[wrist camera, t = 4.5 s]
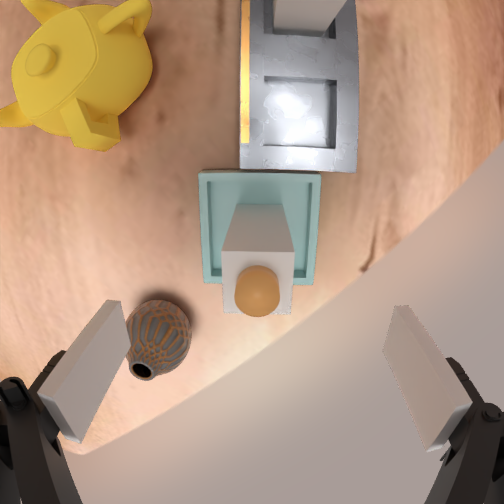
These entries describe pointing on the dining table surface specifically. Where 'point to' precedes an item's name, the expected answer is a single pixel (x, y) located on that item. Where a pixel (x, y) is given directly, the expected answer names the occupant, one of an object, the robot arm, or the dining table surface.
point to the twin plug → (304, 16)
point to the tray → (259, 192)
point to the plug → (258, 261)
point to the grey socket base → (298, 93)
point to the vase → (157, 339)
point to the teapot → (80, 70)
